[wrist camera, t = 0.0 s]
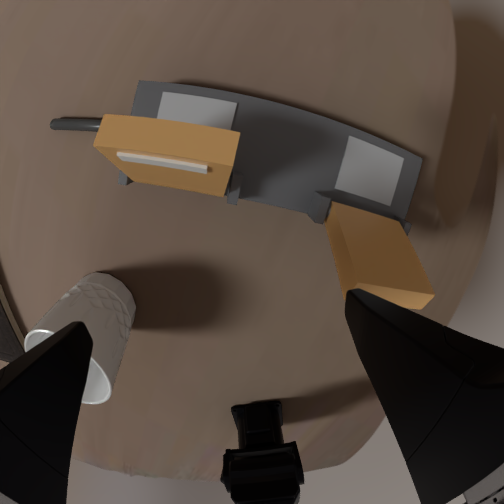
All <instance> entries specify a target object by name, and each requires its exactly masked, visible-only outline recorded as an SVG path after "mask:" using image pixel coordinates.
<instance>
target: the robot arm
mask: <svg viewBox="0 0 504 504" xmlns="http://www.w3.org/2000/svg"><path fill="white" fill-rule="evenodd" d="M345 317H346V320H347V323H348V326H349V329H350V332H351V335H352V337H353V340H354V343H355V346H356V349H357V352H358V355H359V357H360V359H361V361H362V364H363V366H364V368H365V370H366V372H367V374H368V376H369V378H370V381H371V383H372V385H373V387H374V389H375V391H376V394H377V396H378V398H379V400H380V402H381V405H382V407H383V409H384V411H385V414H386V416H387V418H388V420H389V423H390V425H391V428H392V430H393V432H394V435H395V437H396V439H397V442H398V444H399V447H400V449H401V451H402V454H403V457H404V459H405V461H406V465H407V467H408V469H409V472H410V474H411V477H412V480H413V483H414V485H415V488H416V491H417V494H418V496H419V499H420V502H421V504H446V503H448V502H449V501H451V500H452V499H454V498H456V497H457V496H459V495H461V494H462V493H463V495H464V497H465V499H466V502H465V503H464V504H504V348H501V347H498V346H495V345H492V344H489V343H486V342H483V341H481V340H478V339H475V338H473V337H470V336H467V335H465V334H462V333H460V332H458V331H455V330H453V329H451V328H448V327H447V326H443V325H442V324H440V323H437V322H435V321H433V320H431V319H428V318H426V317H424V316H422V315H419V314H417V313H415V312H413V311H410V310H408V309H406V308H404V307H401V306H399V305H397V304H395V303H392V302H390V301H388V300H385V299H383V298H381V297H379V296H376V295H374V294H372V293H369V292H367V291H365V290H363V289H360V288H355V289H350V290H348V291H347V293H346V302H345ZM92 349H93V339H92V337H91V335H90V333H89V331H88V329H87V327H86V325H85V323H84V322H82V321H73V322H71V323H70V324H68V325H67V326H65V327H63V328H62V329H60V330H59V331H57V332H56V333H54V334H53V335H51V336H50V337H48V338H47V339H45V340H44V341H42V342H41V343H39V344H37V345H36V346H34V347H33V348H32V349H30V350H29V351H27V352H26V353H24V354H23V355H21V356H20V357H18V358H17V359H15V360H14V361H12V362H11V363H9V364H8V365H7V366H5V367H4V368H2V369H1V370H0V504H66V498H67V486H68V474H69V467H70V459H71V453H72V447H73V441H74V435H75V430H76V425H77V420H78V415H79V411H80V406H81V402H82V398H83V394H84V390H85V386H86V382H87V377H88V371H89V365H90V360H91V354H92ZM231 412H232V415H233V418H234V421H235V424H236V427H237V430H238V442H239V449H232V450H230V449H226V453H225V454H224V455H223V469H222V474H221V478H220V480H221V482H222V483H223V484H225V487H226V489H227V492H228V493H231V498H232V500H233V502H234V503H235V504H298V502H299V499H300V486H299V485H301V484H304V474H303V468H302V464H301V460H300V456H299V452H298V448H297V444H296V441H293V442H290V443H284V440H283V434H282V429H281V426H282V425H283V420H282V407H281V402H280V401H274V402H267V403H260V404H252V405H243V406H233V407H231Z"/></svg>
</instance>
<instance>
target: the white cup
mask: <svg viewBox="0 0 504 504" xmlns="http://www.w3.org/2000/svg"><path fill="white" fill-rule="evenodd" d="M135 312H136V305H135V302H134V299H133V296H132V293H131V292H130V291H129V290H128V289H127V287H126V286H125V285H124V284H123V283H122V282H121V281H120V280H118V279H116V278H115V277H113V276H111V275H109V274H105V273H98V272H94V273H91V274H89V275H87V276H84V277H83V278H82V279H81V280H80V281H79V282H78V283H77V284H76V285H75V286H74V287H73V288H71V289H70V290H69V291H67V292H66V293H65V294H64V295H63V297H62V298H61V299H59V300H58V301H57V302H56V303H55V304H54V305H53V306H52V307H51V308H50V310H49V311H48V312H47V313H46V314H45V315H44V316H43V317H42V318H41V319H40V321H39V322H38V323H37V324H36V325H35V326H34V327H33V328H32V329H31V331H30V332H29V333H28V334H27V335H26V338H25V342H24V347H25V352H27V351H29V350H30V349H32V348H33V347H34V346H36V345H37V344H39V343H41V342H42V341H44V340H45V339H47V338H48V337H50V336H51V335H53V334H54V333H56V332H57V331H59V330H60V329H62V328H63V327H65V326H67V325H68V324H70V323H71V322H73V321H82V322H84V323H85V325H86V327H87V329H88V331H89V333H90V335H91V337H92V339H93V349H92V354H91V360H90V365H89V371H88V377H87V382H86V386H85V390H84V394H83V398H82V403H86V404H100V403H103V402H105V401H107V400H108V399H109V398H110V396H111V393H112V390H113V386H114V383H115V380H116V376H117V373H118V370H119V367H120V364H121V361H122V358H123V354H124V351H125V348H126V344H127V341H128V338H129V335H130V331H131V327H132V324H133V321H134V318H135Z"/></svg>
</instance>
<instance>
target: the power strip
mask: <svg viewBox="0 0 504 504" xmlns="http://www.w3.org/2000/svg"><path fill="white" fill-rule="evenodd" d="M131 116H137V117H147V118H156V119H165V120H172V121H179V122H186V123H192V124H199V125H204V126H210V127H216V128H221V129H226V130H231V131H236V132H240V137H239V141H238V146H237V150H236V155H235V159H234V164H233V168H232V171H231V174H230V177H231V179H230V184H229V188H228V193H227V196H228V197H227V203H229V204H234V205H237V201H238V198H241V199H245V200H250V201H255V202H259V203H264V204H269V205H273V206H277V207H282V208H286V209H290V210H295V211H299V212H303V213H307V214H308V216H309V217H310V218H311V219H312V220H313V221H314V222H315V223H319V224H323V223H324V220H325V216H326V213H327V210H328V207H329V203H330V201H333V202H337V203H341V204H344V205H348V206H351V207H354V208H358V209H361V210H364V211H368V212H371V213H374V214H377V215H380V216H384V217H387V218H390V219H393V220H396V221H399V222H400V224H401V226H402V228H403V230H404V231H405V233H406V235H407V236H408V233H409V230H410V227H411V225H412V224H411V223H409V222H407V221H406V220H405V217H406V214H407V211H408V208H409V205H410V202H411V199H412V196H413V192H414V189H415V186H416V182H417V179H418V175H419V171H420V168H421V164H422V160H423V159H422V158H420V157H418V156H416V155H414V154H412V153H410V152H408V151H406V150H404V149H402V148H400V147H398V146H396V145H393V144H391V143H389V142H387V141H385V140H382V139H380V138H378V137H375V136H373V135H371V134H368V133H366V132H363V131H361V130H358V129H356V128H353V127H351V126H348V125H345V124H343V123H340V122H337V121H335V120H332V119H329V118H326V117H323V116H320V115H317V114H314V113H311V112H308V111H304V110H301V109H298V108H294V107H291V106H287V105H284V104H280V103H276V102H273V101H269V100H265V99H260V98H256V97H252V96H247V95H243V94H238V93H233V92H228V91H223V90H217V89H211V88H205V87H198V86H191V85H184V84H175V83H166V82H154V81H140V80H139V83H138V86H137V90H136V94H135V98H134V103H133V107H132V111H131ZM101 121H102V120H96V119H53V120H52V121H51V122H50V128H51V129H53V130H78V131H95V132H98V130H99V127H100V124H101ZM132 182H134V181H132V180H131V179H130V178H129V177H128V176H127V175H126V174H124V173H123V172H122V171H121V170H120V172H119V180H118V184H121V185H128V184H130V183H132Z"/></svg>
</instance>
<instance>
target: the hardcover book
mask: <svg viewBox="0 0 504 504" xmlns="http://www.w3.org/2000/svg"><path fill="white" fill-rule="evenodd" d="M24 342H25V339H24V337H23V335H22V333H21V331H20V329H19V327H18V325H17V323H16V320H15V318H14V316H13V314H12V311H11V309H10V307H9V304H8V302H7V299H6V297H5V294H4V292H3V289H2V286H1V283H0V360H3V361H6V362H9V363H11V362H12V361H14V360H15V359H17V358H18V357H20V356H21V355H23V354H24V353H26V352H25V347H24Z"/></svg>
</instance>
